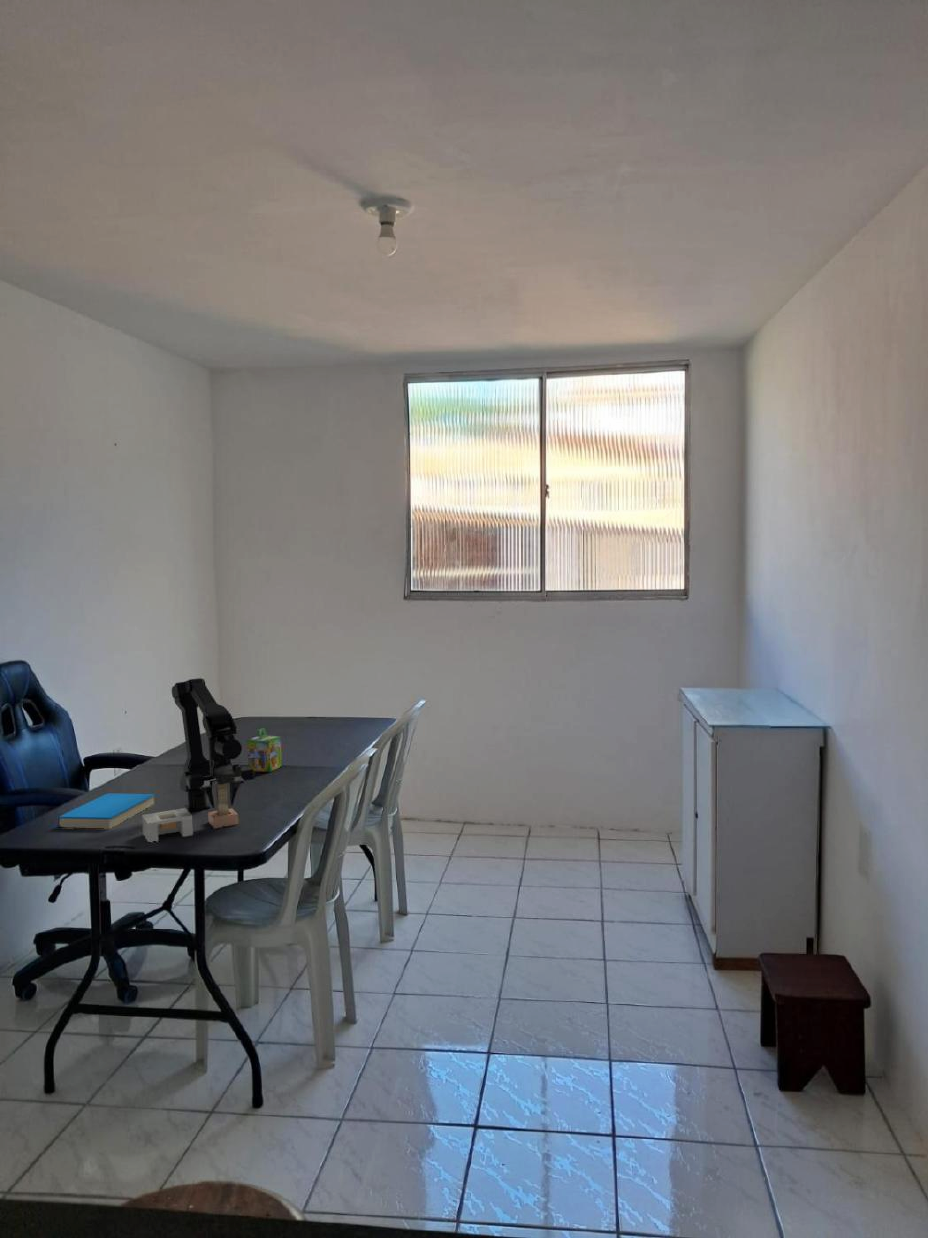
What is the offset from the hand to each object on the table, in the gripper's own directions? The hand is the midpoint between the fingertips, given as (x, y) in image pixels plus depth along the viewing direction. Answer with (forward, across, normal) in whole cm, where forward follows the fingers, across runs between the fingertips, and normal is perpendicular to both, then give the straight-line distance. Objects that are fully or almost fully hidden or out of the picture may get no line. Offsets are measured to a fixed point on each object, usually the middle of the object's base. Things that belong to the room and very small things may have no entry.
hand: (222, 806), depth 266 cm
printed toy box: (+5, +29, +58) cm, 65 cm away
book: (+6, -28, +28) cm, 40 cm away
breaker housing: (+5, -16, -3) cm, 17 cm away
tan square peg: (+5, 0, 0) cm, 5 cm away
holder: (+5, 0, 0) cm, 5 cm away
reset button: (+3, -16, -3) cm, 16 cm away
